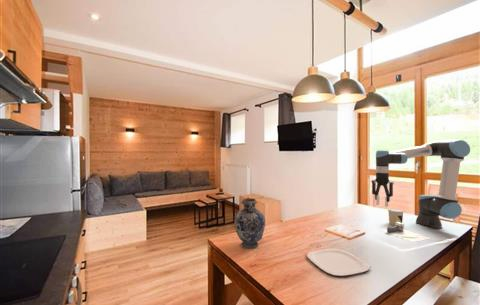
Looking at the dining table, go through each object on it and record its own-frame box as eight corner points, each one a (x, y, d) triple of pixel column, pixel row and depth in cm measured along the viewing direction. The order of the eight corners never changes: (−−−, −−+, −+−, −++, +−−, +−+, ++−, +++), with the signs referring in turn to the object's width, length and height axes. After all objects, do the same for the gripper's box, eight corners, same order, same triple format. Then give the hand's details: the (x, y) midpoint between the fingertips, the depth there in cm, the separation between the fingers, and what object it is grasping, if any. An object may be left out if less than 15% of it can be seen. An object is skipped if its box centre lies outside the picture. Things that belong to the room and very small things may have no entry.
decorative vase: (268, 252, 127) (267, 203, 126) (236, 254, 125) (234, 204, 125) (262, 237, 148) (261, 195, 148) (234, 239, 147) (233, 196, 146)
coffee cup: (401, 229, 162) (401, 212, 162) (386, 225, 169) (386, 210, 169) (404, 226, 168) (404, 210, 168) (390, 223, 175) (390, 207, 175)
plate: (377, 272, 107) (377, 268, 107) (332, 281, 99) (332, 277, 99) (339, 249, 131) (339, 246, 131) (301, 255, 124) (301, 252, 124)
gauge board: (396, 229, 162) (396, 226, 162) (431, 240, 141) (431, 238, 141) (377, 232, 156) (377, 230, 156) (411, 245, 135) (411, 242, 135)
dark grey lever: (398, 229, 158) (398, 221, 158) (405, 231, 153) (405, 223, 153) (384, 231, 153) (384, 223, 153) (391, 233, 149) (391, 225, 149)
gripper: (366, 171, 161) (366, 203, 162) (394, 173, 147) (394, 209, 147) (371, 171, 166) (371, 202, 166) (399, 173, 151) (399, 207, 151)
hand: (382, 205), depth 156 cm, fingers open, 5 cm apart
